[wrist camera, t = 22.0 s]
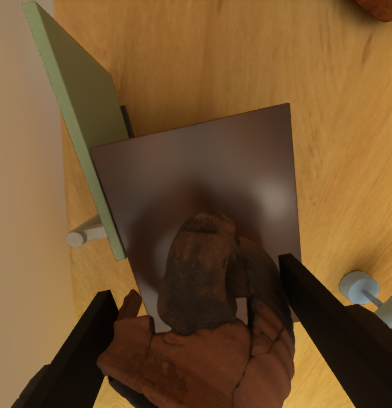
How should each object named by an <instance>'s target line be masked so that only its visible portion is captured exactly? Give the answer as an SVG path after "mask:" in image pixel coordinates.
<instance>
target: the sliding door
mask: <svg viewBox="0 0 392 408" xmlns="http://www.w3.org/2000/svg"><path fill="white" fill-rule="evenodd" d="M22 7H23V10H24V12H25V15H26V18H27V20H28V23H29V26H30V29H31V31H32V34H33V37H34V39H35V42H36V45H37V48H38V50H39V53H40V56H41V59H42V61H43V64H44V66H45V69H46V72H47V75H48V77H49V80H50V83H51V86H52V88H53V91H54V94H55V96H56V99H57V102H58V105H59V107H60V110H61V113H62V115H63V118H64V121H65V124H66V126H67V129H68V132H69V134H70V137H71V140H72V142H73V145H74V148H75V151H76V153H77V156H78V159H79V161H80V164H81V167H82V170H83V172H84V175H85V178H86V180H87V183H88V186H89V188H90V191H91V194H92V197H93V199H94V202H95V205H96V207H97V210H98V214H97V215H95V216H94V217H92V218H91V219H89V220H88V221H86V222H85V223H83V224H82V225H80V226H79V227H77V228H76V229H74V230H73V231H71V232H69V233H68V234H67V236H66V242H67V244H68V245H69V246H71V247H73V248H79V247H81V246H82V245H84V244H85V243H86V242H87V241H91V240H96V239H101V238H105V237H108V240H109V243H110V245H111V248H112V251H113V253H114V256H115V259H116V261H118V260H123V259H126V258H127V254H126V252H125V249H124V246H123V243H122V240H121V237H120V234H119V232H118V229H117V226H116V223H115V220H114V217H113V214H112V212H111V209H110V206H109V203H108V200H107V197H106V194H105V191H104V189H103V186H102V183H101V180H100V177H99V174H98V171H97V169H96V166H95V163H94V160H93V157H92V154H91V151H90V148H91V147H94V146H99V145H103V144H108V143H112V142H117V141H121V140H125V139H129V136H128V132H127V129H126V126H125V122H124V119H123V115H122V112H121V108H120V105H119V102H118V98H117V95H116V91H115V88H114V84H113V81H112V78H111V75H110V73H109V72H107V71H106V70H105V69H104V68H103V67H102V66H101V65H100V64H99V63H98V62H97V61H96V60H95V59H94V58H93V57H92V56H91V55H90V54H89V53H88V52H87V51H86V50H85V49H84V48H83V47H82V46H81V45H80V44H79V43H78V42H77V41H76V40H75V39H74V38H73V37H72V36H71V35H70V34H68V33H67V32H66V31H65V30H64V29H63V28H62V27H61V26H60V25H59V24H58V23H57V22H56V21H55V20H54V19H53V18H52V17H51V16H50V15H49V14H48V13H47V12H46V11H45V10H44V9H43V8H42V7H41V6H40V5H39V4H38V3H36V1H30V2H26V3H22Z"/></svg>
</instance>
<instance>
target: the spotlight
mask: <svg viewBox="0 0 392 408" xmlns="http://www.w3.org/2000/svg"><path fill="white" fill-rule="evenodd" d="M339 287H340V291H341V293H342V294H343V295H344V296H346V297H347V298H348V299H349V300H350V301H351V302H352V303H354V304H359V305H362V304H366V303H369V302H373V303H374V304H375V305H376V306H377V307H378V309H377V310H376V311H375V312H374V313H375V314H376V315H377V316H378V317H379V318H380V319H381V320H383V321H384V322H385V323H386V324H387V325H388V327H389V328H392V296H391V297H390V298H389V299H388V300H387V301H386V302H385V303H384V304H383V303H382V302H381V301H380V300H378V299H377V298H376V296H377V295H378V293H379V284H378V282H377V281H376V280H374V279H373V278H371V277H370V276H369V275H367V274H366V273H364V272H361V271H354V272H351V273H349V274H347V275H346V276H345V277H344V278H343V279H342V280H341V282H340V286H339Z"/></svg>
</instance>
